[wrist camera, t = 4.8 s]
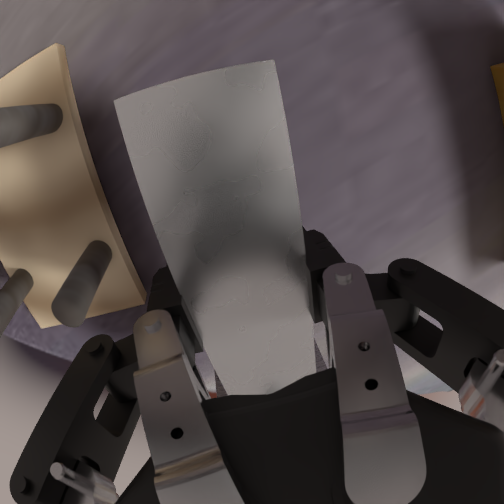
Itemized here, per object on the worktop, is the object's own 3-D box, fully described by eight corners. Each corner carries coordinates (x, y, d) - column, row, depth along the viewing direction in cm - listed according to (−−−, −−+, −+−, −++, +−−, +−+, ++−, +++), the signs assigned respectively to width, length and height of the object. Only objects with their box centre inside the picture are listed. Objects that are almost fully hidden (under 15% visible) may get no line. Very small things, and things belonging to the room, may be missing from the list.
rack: (-38, 117, 11) (-103, 136, 5) (64, 46, 11) (-1, 24, 5) (46, 319, 20) (16, 383, 13) (147, 293, 20) (132, 371, 14)
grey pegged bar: (119, 108, 9) (41, 123, 4) (275, 69, 9) (347, 44, 4) (229, 392, 18) (241, 472, 13) (315, 370, 18) (345, 445, 13)
